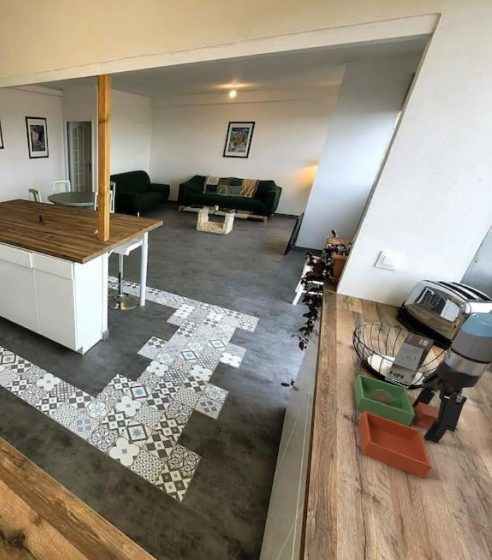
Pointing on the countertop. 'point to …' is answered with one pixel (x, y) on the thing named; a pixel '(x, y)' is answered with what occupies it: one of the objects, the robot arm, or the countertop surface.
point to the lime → (382, 397)
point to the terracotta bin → (394, 444)
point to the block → (425, 415)
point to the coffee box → (409, 359)
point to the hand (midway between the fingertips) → (424, 422)
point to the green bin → (395, 412)
